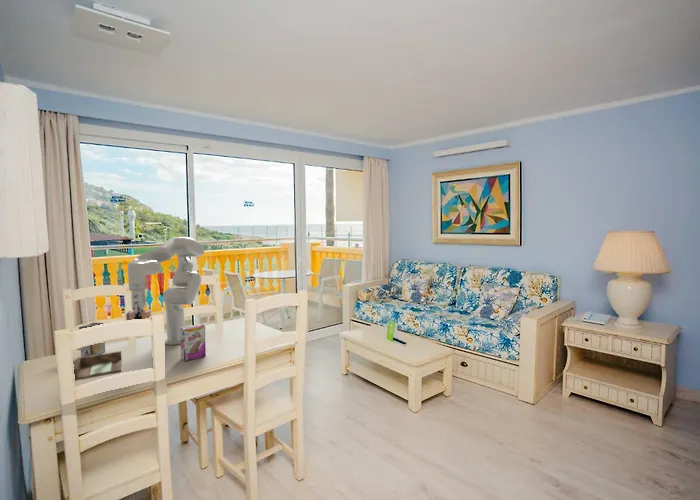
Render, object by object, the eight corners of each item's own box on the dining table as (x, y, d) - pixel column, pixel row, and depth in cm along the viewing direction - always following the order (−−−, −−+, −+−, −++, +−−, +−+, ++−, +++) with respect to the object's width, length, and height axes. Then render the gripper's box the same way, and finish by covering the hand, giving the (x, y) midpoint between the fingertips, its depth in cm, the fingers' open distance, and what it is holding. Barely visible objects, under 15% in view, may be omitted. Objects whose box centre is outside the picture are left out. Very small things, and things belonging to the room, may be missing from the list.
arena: (121, 360, 189) (121, 351, 188) (120, 371, 175) (120, 361, 175) (77, 367, 180) (77, 358, 179) (73, 380, 166) (72, 369, 166)
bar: (151, 321, 191) (150, 309, 190) (149, 323, 186) (149, 312, 186) (129, 323, 188) (128, 311, 187) (126, 325, 183) (126, 313, 182)
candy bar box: (184, 362, 186) (183, 329, 185) (180, 359, 190) (179, 327, 188) (206, 356, 194) (205, 325, 193) (202, 353, 198) (201, 323, 196)
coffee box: (95, 351, 202) (93, 322, 201) (105, 351, 201) (103, 322, 199) (80, 357, 193) (78, 327, 192) (90, 358, 192) (88, 327, 190)
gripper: (142, 289, 179) (144, 326, 180) (149, 283, 195) (150, 317, 196) (124, 290, 176) (127, 328, 178) (132, 284, 192) (134, 318, 194)
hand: (139, 322), depth 187 cm, fingers closed on bar, 5 cm apart
